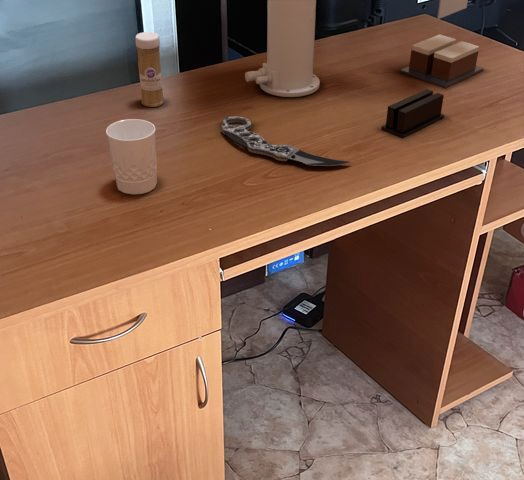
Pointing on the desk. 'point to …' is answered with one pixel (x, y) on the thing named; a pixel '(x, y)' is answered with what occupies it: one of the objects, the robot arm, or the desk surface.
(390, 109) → the stand
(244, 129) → the knife
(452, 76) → the cake
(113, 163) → the white cup
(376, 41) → the desk surface
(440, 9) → the plate
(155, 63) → the sprinkles bottle
